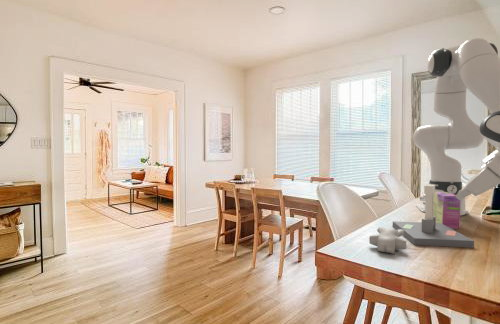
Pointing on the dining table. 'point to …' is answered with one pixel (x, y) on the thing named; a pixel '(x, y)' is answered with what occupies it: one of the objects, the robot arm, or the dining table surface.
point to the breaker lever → (429, 201)
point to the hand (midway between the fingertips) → (457, 197)
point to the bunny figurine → (388, 240)
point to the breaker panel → (432, 234)
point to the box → (446, 209)
